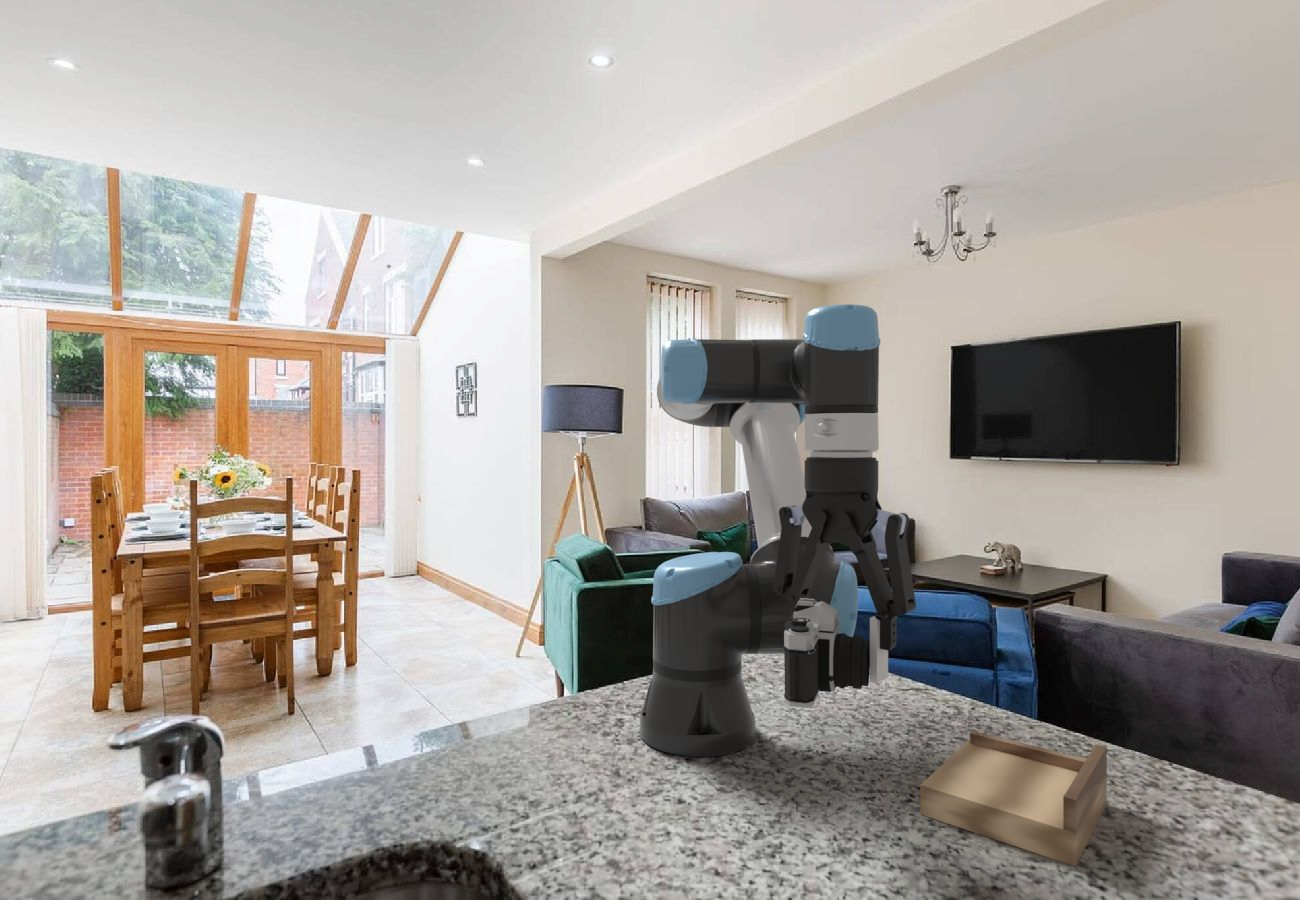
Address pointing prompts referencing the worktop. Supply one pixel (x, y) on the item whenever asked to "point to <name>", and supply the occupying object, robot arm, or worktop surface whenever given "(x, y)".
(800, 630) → the camera
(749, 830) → the worktop surface
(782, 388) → the robot arm
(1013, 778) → the wooden corner tray
